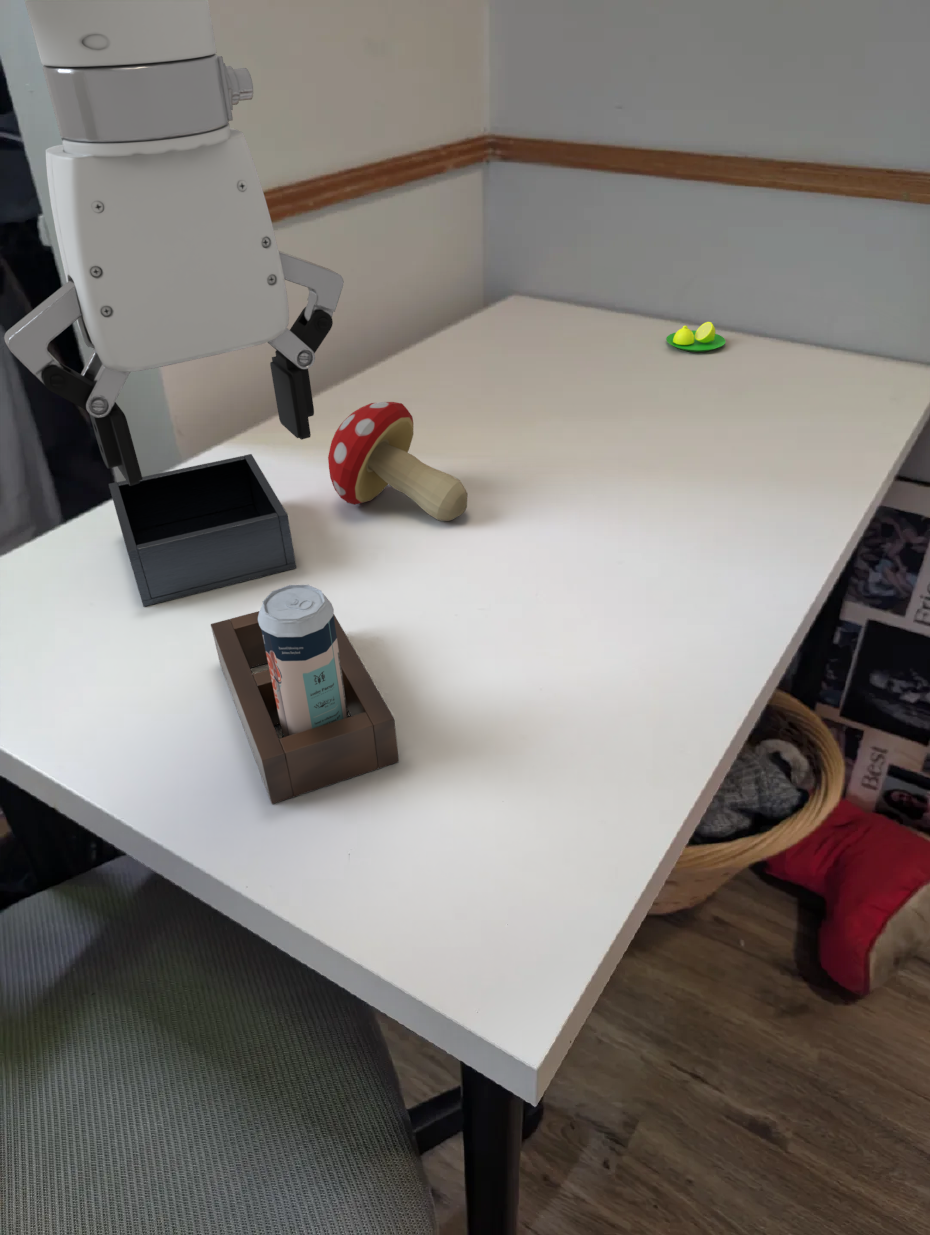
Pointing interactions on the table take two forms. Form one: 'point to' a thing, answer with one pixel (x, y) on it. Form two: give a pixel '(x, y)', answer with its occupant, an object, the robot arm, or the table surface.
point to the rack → (317, 750)
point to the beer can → (303, 658)
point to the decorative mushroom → (389, 462)
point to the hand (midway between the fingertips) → (215, 452)
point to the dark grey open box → (202, 528)
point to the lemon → (696, 338)
